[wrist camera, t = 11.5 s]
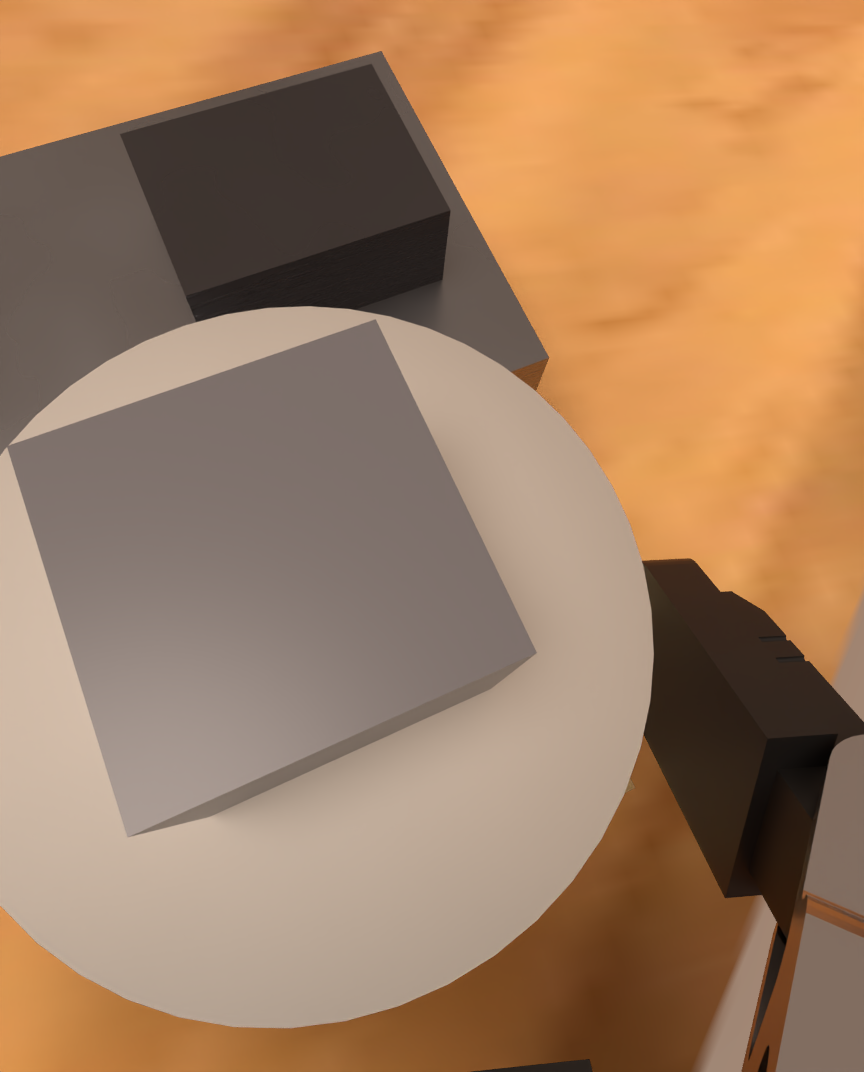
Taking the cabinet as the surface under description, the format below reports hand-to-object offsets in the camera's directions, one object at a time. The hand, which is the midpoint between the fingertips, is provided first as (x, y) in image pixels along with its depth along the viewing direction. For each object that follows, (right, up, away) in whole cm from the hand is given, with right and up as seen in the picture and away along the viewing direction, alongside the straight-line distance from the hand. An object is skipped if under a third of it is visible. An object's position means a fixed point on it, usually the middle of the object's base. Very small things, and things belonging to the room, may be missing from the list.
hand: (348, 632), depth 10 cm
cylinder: (0, -3, +5) cm, 6 cm away
